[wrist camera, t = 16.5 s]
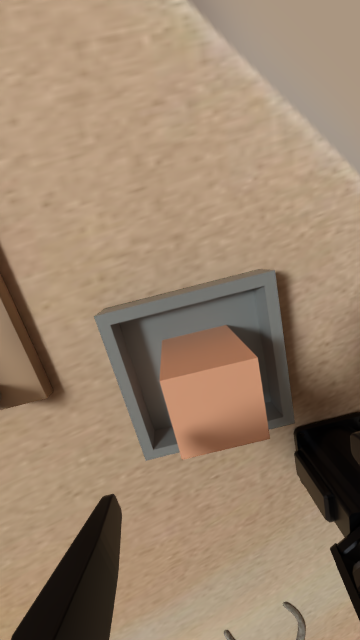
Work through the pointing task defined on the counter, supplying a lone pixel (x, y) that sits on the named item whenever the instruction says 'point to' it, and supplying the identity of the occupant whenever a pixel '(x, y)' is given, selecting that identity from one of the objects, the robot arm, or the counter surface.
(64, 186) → the counter surface
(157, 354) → the tray
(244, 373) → the block
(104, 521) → the robot arm
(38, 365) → the peg rack
